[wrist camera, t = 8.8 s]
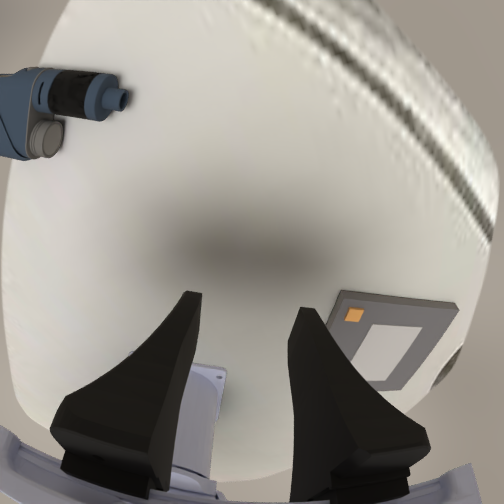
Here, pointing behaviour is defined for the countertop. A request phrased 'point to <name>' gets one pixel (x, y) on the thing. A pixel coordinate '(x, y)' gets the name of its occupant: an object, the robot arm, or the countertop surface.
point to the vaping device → (51, 107)
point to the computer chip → (388, 334)
